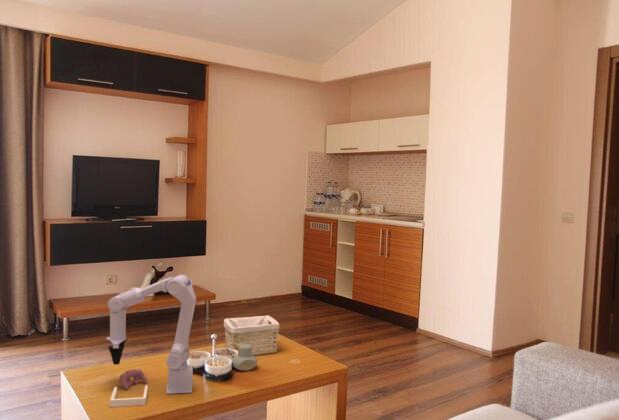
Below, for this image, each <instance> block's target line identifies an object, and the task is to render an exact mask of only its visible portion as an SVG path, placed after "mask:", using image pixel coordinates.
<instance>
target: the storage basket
mask: <svg viewBox="0 0 619 420" xmlns="http://www.w3.org/2000/svg"><path fill="white" fill-rule="evenodd" d="M223 327H224V331H225V332H224V334H225V348H226V347H228V348H231V349H235V350H237V351H238V346H239V345H241V344H250V345H251V346H252V355H254V356H256V355H257V356H258V355H259V356H260V355H265V354H266V355H268V354H274V353H277V352H278V341H279V332H280V323H279V322H278V321H277V319H275V318H274V317H272V316H270V315H256V316H246V317H244V316H243V317H232V318H228V317H227V318H225V319H223Z"/></svg>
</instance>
